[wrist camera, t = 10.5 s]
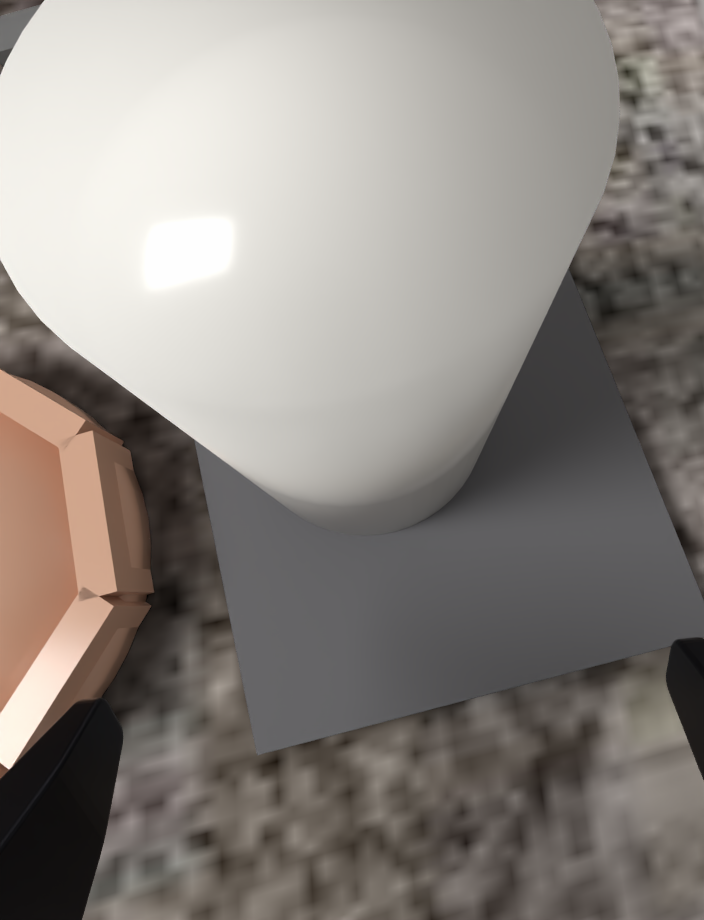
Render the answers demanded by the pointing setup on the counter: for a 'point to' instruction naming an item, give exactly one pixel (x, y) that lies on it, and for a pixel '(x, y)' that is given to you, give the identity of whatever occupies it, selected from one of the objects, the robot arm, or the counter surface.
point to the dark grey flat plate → (462, 564)
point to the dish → (63, 560)
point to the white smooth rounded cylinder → (308, 221)
